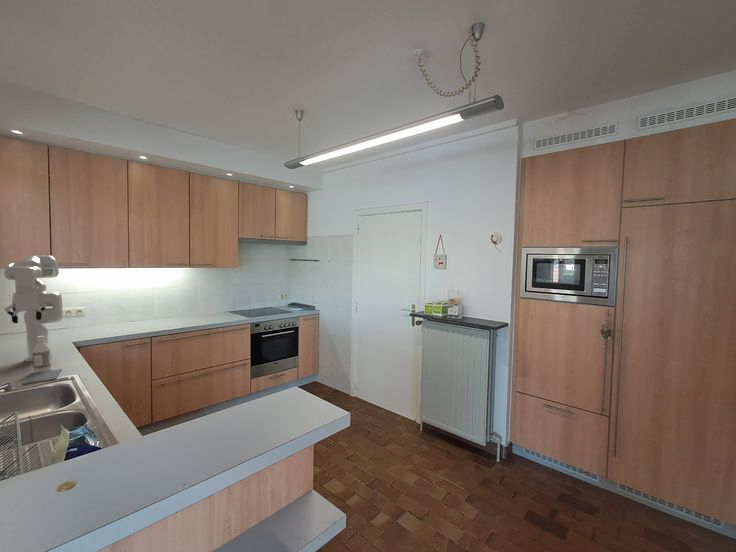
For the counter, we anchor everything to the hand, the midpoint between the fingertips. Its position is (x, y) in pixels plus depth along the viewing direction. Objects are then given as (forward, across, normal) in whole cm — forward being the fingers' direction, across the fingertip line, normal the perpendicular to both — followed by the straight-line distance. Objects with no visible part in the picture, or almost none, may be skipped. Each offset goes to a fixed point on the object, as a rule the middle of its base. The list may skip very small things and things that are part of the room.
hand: (27, 321), depth 182 cm
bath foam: (+30, -5, +1) cm, 30 cm away
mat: (+29, +1, +13) cm, 32 cm away
